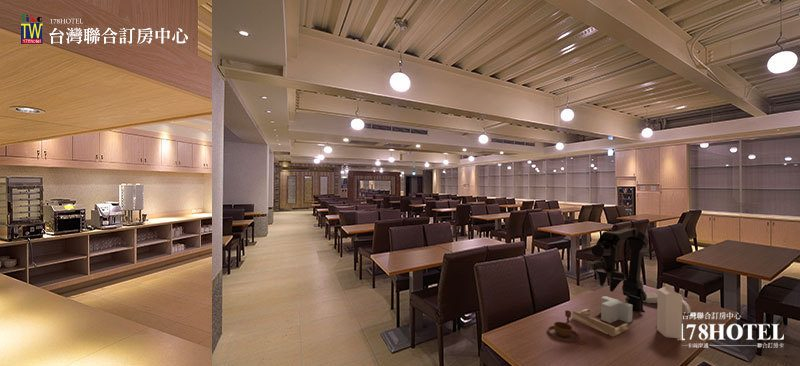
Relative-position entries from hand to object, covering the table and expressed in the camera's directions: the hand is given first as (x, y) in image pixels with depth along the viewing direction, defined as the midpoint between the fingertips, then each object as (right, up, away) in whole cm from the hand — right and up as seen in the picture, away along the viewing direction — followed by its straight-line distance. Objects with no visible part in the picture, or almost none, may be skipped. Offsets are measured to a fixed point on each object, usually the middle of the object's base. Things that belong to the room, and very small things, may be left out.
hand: (606, 288), depth 141 cm
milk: (+18, -15, -14) cm, 28 cm away
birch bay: (-7, -15, -5) cm, 17 cm away
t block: (+3, -15, 0) cm, 15 cm away
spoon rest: (+42, -15, +16) cm, 47 cm away
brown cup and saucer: (-27, -16, -13) cm, 34 cm away
